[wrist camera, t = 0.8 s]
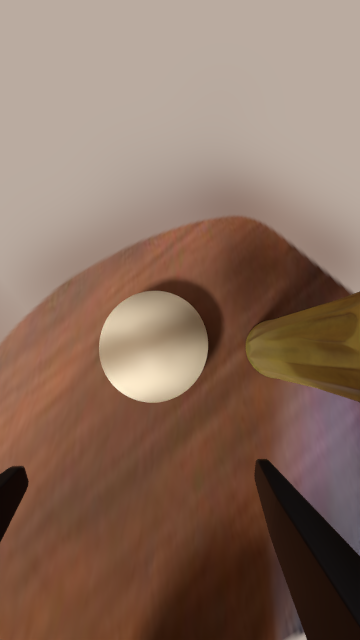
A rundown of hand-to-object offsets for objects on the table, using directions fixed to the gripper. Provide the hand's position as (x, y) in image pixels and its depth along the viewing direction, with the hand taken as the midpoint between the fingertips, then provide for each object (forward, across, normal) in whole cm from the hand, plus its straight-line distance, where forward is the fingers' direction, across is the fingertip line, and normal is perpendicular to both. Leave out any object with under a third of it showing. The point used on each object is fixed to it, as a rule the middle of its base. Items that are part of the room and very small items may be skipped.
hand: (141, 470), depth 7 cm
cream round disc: (+15, +1, +1) cm, 15 cm away
